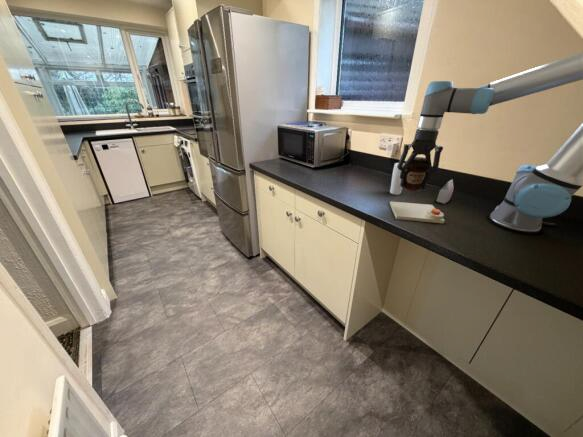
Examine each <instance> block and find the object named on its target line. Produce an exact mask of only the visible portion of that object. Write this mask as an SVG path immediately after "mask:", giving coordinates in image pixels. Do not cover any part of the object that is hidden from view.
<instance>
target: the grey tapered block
mask: <svg viewBox="0 0 583 437" xmlns="http://www.w3.org/2000/svg"><path fill="white" fill-rule="evenodd" d="M454 190H455V189H454V180H453V179H450V180H449V181H447V182H446V184H444V186H443V187H442V188H441V189H439V192H438V195H437V197H436V202H437V203H441V204H447V203H448V202H449V201H450V200H451V198H452V196H453V193H454Z"/></svg>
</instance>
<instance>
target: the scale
mask: <svg viewBox="0 0 583 437" xmlns="http://www.w3.org/2000/svg"><path fill="white" fill-rule="evenodd" d="M389 206H390V208H391V210H392V213H393V215H394V218H395V219H396V220H403V221H412V222H413V221H415V222H423V223H425V222H426V223H435V224H445V222H446V221H445V219H444V216H445V214H444V213H443V211H440V214H439V215H435V214H432V213H431V211H432V209H436V207H435V206H434V205H433V204H428V203H427V204H426V203H413V202H403V201H402V202H401V201H389Z"/></svg>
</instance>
